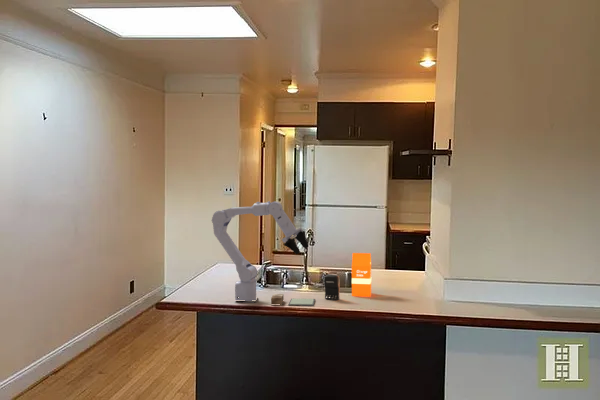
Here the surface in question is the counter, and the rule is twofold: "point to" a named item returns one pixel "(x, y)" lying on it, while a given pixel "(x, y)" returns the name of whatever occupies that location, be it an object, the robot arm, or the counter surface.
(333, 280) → the black upright block
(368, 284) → the orange juice
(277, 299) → the tan block
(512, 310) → the counter surface
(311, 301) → the mat
